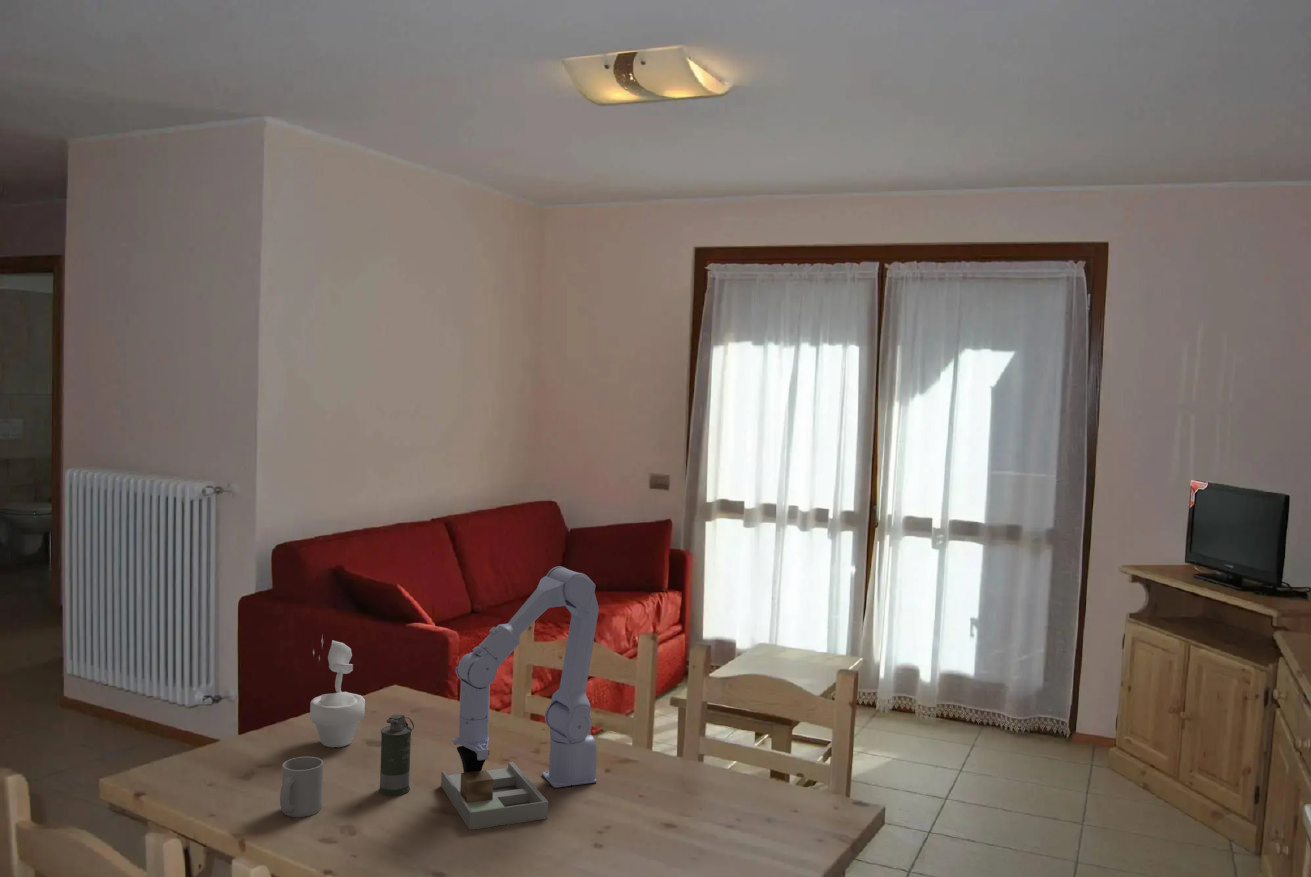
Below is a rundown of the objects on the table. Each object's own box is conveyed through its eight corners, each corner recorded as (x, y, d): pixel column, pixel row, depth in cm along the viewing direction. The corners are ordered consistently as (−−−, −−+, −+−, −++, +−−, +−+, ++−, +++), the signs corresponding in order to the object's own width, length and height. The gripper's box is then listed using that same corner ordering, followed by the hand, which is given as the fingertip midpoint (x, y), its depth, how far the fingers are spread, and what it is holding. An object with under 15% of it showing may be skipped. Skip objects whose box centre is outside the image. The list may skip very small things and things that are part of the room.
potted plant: (309, 736, 232) (312, 627, 231) (363, 733, 235) (365, 625, 234) (308, 756, 220) (311, 641, 219) (364, 752, 223) (367, 639, 222)
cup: (329, 805, 195) (330, 759, 194) (298, 826, 185) (300, 778, 185) (296, 800, 197) (297, 754, 196) (264, 820, 187) (265, 772, 187)
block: (485, 790, 200) (486, 770, 200) (492, 799, 196) (493, 779, 196) (460, 793, 198) (460, 773, 198) (466, 803, 194) (467, 782, 194)
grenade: (402, 797, 200) (404, 722, 199) (373, 794, 201) (375, 719, 200) (415, 785, 206) (418, 712, 205) (388, 782, 207) (390, 709, 207)
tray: (512, 776, 213) (512, 761, 213) (547, 818, 193) (548, 801, 193) (441, 786, 207) (441, 770, 206) (469, 830, 187) (470, 812, 187)
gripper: (445, 706, 205) (442, 773, 205) (463, 729, 192) (461, 800, 192) (479, 703, 208) (477, 768, 208) (500, 725, 195) (497, 795, 195)
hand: (471, 783), depth 201 cm, fingers closed
